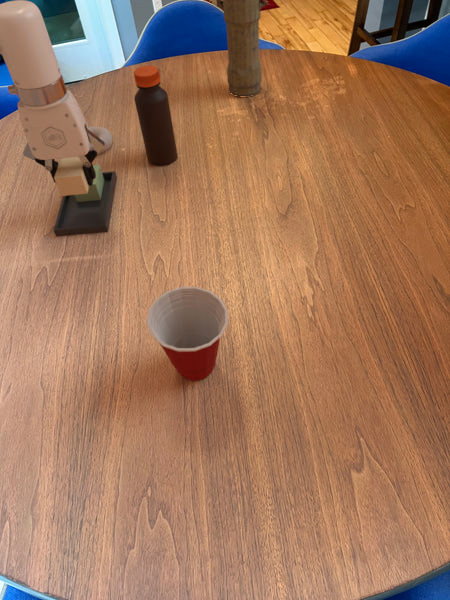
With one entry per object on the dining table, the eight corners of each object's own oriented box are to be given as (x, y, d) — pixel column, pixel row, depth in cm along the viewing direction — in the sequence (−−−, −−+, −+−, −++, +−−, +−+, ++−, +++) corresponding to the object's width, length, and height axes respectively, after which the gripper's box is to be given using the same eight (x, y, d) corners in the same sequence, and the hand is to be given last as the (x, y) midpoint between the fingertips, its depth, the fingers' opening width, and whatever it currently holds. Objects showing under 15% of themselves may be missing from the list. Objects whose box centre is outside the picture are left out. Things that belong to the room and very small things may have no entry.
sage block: (77, 202, 100) (71, 186, 97) (81, 182, 104) (76, 166, 101) (100, 200, 100) (95, 184, 96) (104, 180, 104) (99, 164, 101)
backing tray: (56, 238, 93) (53, 230, 92) (71, 183, 105) (68, 175, 104) (108, 234, 93) (105, 225, 92) (117, 179, 105) (115, 170, 103)
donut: (93, 133, 119) (63, 152, 114) (90, 120, 116) (59, 138, 111) (123, 143, 115) (93, 163, 110) (119, 130, 112) (89, 150, 107)
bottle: (149, 170, 106) (130, 81, 91) (146, 154, 111) (127, 66, 96) (179, 165, 107) (165, 75, 92) (175, 149, 111) (160, 60, 96)
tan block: (61, 196, 90) (53, 178, 87) (67, 174, 94) (60, 156, 91) (87, 193, 90) (81, 175, 87) (92, 172, 94) (86, 154, 91)
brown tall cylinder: (222, 83, 131) (211, -76, 105) (266, 80, 131) (265, -80, 104) (222, 99, 125) (209, -65, 99) (267, 96, 125) (267, -70, 98)
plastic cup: (226, 401, 68) (220, 353, 59) (153, 392, 69) (136, 344, 60) (238, 339, 75) (234, 287, 65) (171, 332, 76) (158, 281, 67)
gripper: (-16, 106, 76) (28, 199, 90) (90, 95, 75) (119, 190, 89) (-4, 84, 81) (37, 175, 94) (96, 74, 80) (122, 167, 94)
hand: (76, 182), depth 92 cm, fingers closed on tan block, 5 cm apart
